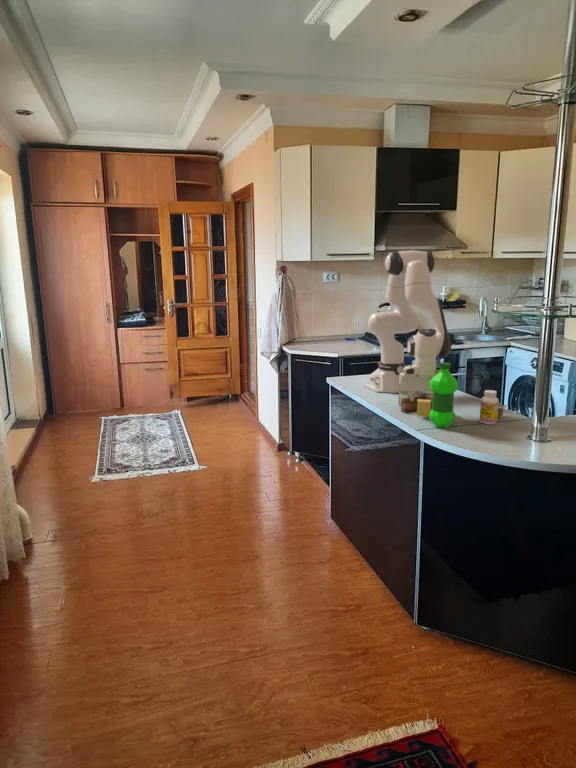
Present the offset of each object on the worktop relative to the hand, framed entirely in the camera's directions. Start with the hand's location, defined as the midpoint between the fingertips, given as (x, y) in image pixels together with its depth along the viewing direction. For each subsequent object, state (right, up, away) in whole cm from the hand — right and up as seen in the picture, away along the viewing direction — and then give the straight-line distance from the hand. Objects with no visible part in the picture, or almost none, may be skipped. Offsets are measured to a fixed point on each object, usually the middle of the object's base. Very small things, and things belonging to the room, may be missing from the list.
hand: (423, 401), depth 235 cm
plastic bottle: (+4, -9, -14) cm, 17 cm away
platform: (+28, -7, -3) cm, 29 cm away
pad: (0, -6, +1) cm, 6 cm away
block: (0, -5, +1) cm, 5 cm away
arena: (+1, -5, +2) cm, 6 cm away
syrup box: (-3, -2, +16) cm, 17 cm away
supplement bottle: (+23, -8, -11) cm, 27 cm away
